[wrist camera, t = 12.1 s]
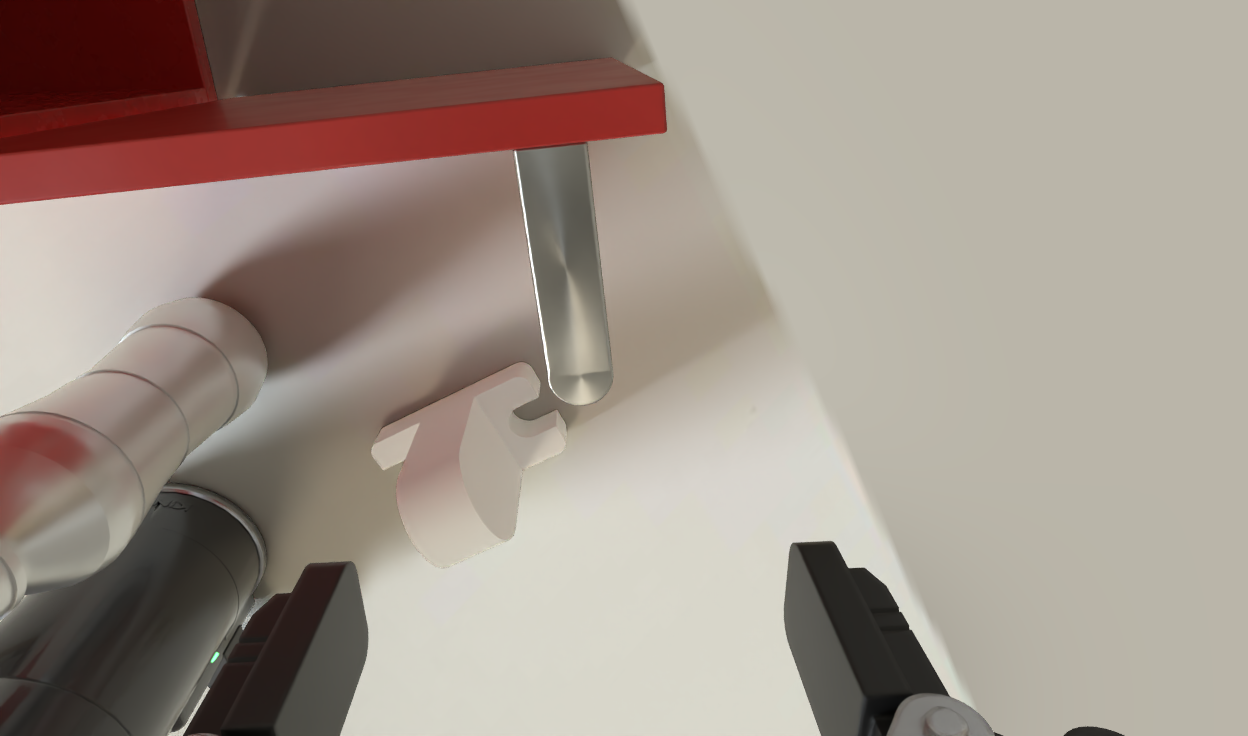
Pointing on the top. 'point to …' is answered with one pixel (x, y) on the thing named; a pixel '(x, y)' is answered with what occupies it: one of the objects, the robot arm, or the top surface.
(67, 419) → the plastic bottle
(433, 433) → the cable organizer
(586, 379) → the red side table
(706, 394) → the top surface
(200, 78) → the red upright rectangular box
